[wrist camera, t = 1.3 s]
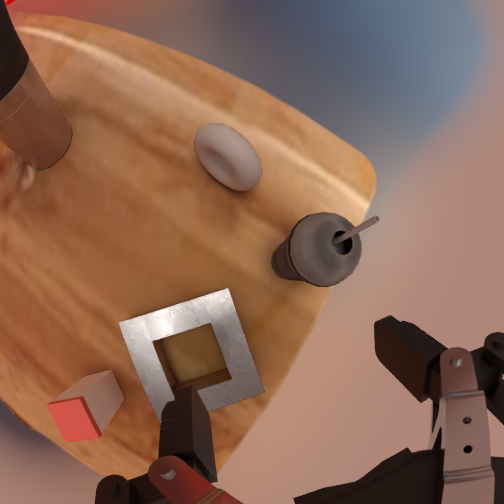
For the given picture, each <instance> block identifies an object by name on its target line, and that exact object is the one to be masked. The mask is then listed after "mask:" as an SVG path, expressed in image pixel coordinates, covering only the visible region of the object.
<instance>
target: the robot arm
mask: <svg viewBox="0 0 504 504" xmlns="http://www.w3.org/2000/svg"><path fill="white" fill-rule="evenodd" d="M71 137H72V129H71V126H70V125H69V123H68V121H67V120H66V118H65V117H64V115H63V113H62V112H61V110H60V108H59V107H58V105H57V104H56V102H55V100H54V99H53V97H52V95H51V94H50V92H49V90H48V89H47V87H46V85H45V84H44V82H43V80H42V78H41V77H40V75H39V73H38V71H37V70H36V68H35V66H34V64H33V63H32V61H31V59H30V57H29V55H28V54H27V52H26V50H25V48H24V46H23V45H22V43H21V41H20V39H19V37H18V35H17V33H16V31H15V29H14V26H13V24H12V22H11V19H10V16H9V14H8V11H7V8H6V5H5V2H4V0H0V140H1V141H2V142H4V143H5V144H6V145H7V146H8V147H9V148H10V149H11V150H12V151H13V152H14V153H16V154H17V155H18V156H19V157H20V158H21V159H22V160H23V161H24V162H25V163H27V164H28V165H29V166H30V167H32V168H33V169H45V168H48V167H50V166H51V165H53V164H54V163H56V162H57V161H58V160H59V159H60V158H61V157H62V156H63V155H64V153H65V152H66V150H67V148H68V147H69V144H70V141H71ZM374 338H375V352H376V355H377V357H378V359H379V361H380V362H381V363H382V364H383V365H384V366H385V367H386V368H387V369H388V370H389V371H390V372H391V373H392V374H393V375H394V376H395V377H396V378H397V379H398V380H399V381H400V382H401V383H402V384H403V385H404V386H405V387H406V388H407V390H408V391H409V392H410V393H411V394H412V395H413V396H414V397H415V398H416V399H417V400H418V401H419V402H420V403H422V402H423V401H425V400H427V399H428V398H430V399H431V400H432V404H431V425H430V439H429V445H428V449H427V450H422V451H417V452H413V453H412V452H411V451H410V450H409V449H408V448H405V449H404V450H402V451H400V452H399V453H397V454H395V455H393V456H391V457H390V458H388V459H386V460H384V461H382V462H381V463H380V464H379V465H377V466H376V467H375V468H374V469H372V470H371V471H370V472H368V473H367V474H366V475H365V476H363V477H362V478H361V479H359V480H357V481H355V482H351V483H346V484H342V485H336V486H331V487H326V488H322V489H319V490H316V491H313V492H311V493H308V494H305V495H302V496H298V497H295V498H293V499H294V502H295V504H504V457H491V456H490V437H489V425H488V416H487V409H488V410H489V411H490V412H491V413H492V414H493V415H494V416H495V417H496V418H497V419H498V420H499V421H500V422H501V423H502V424H503V425H504V380H503V379H502V377H503V374H504V333H500V332H496V333H492V334H489V335H488V336H487V337H486V338H485V342H484V346H483V347H481V348H478V349H476V350H473V351H470V352H469V351H467V350H466V349H464V348H460V347H454V348H450V349H448V348H446V347H445V346H444V345H442V344H441V343H439V342H438V341H437V340H435V339H434V338H433V337H431V336H430V335H427V333H426V332H424V331H423V330H421V329H420V328H419V327H417V326H416V325H414V324H413V323H409V322H406V321H401V322H400V321H398V320H397V319H395V318H394V317H393V316H391V315H389V316H387V317H384V318H383V319H380V320H378V321H376V322H375V323H374ZM160 428H161V430H160V440H159V455H158V459H157V460H155V461H154V462H153V463H152V464H151V466H150V467H149V470H148V473H146V474H144V475H142V476H139V477H136V478H133V479H130V480H128V481H127V480H126V479H125V478H124V477H122V476H120V475H110V476H107V477H105V478H104V479H102V480H101V481H100V482H99V484H98V486H97V489H96V497H95V504H243V503H241V502H240V501H239V500H237V499H236V498H234V497H233V496H231V495H230V494H228V493H227V492H225V491H224V490H222V489H218V488H216V487H215V486H213V485H212V484H211V483H213V482H217V473H216V466H215V458H214V450H213V441H212V432H211V423H210V417H209V414H208V411H207V409H206V407H205V405H204V403H203V401H202V399H201V397H200V395H199V393H198V392H197V390H196V388H195V386H194V385H193V384H191V385H186V386H182V387H178V388H176V389H175V400H174V401H169V402H167V403H166V405H165V407H164V408H163V410H162V415H161V427H160Z"/></svg>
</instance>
